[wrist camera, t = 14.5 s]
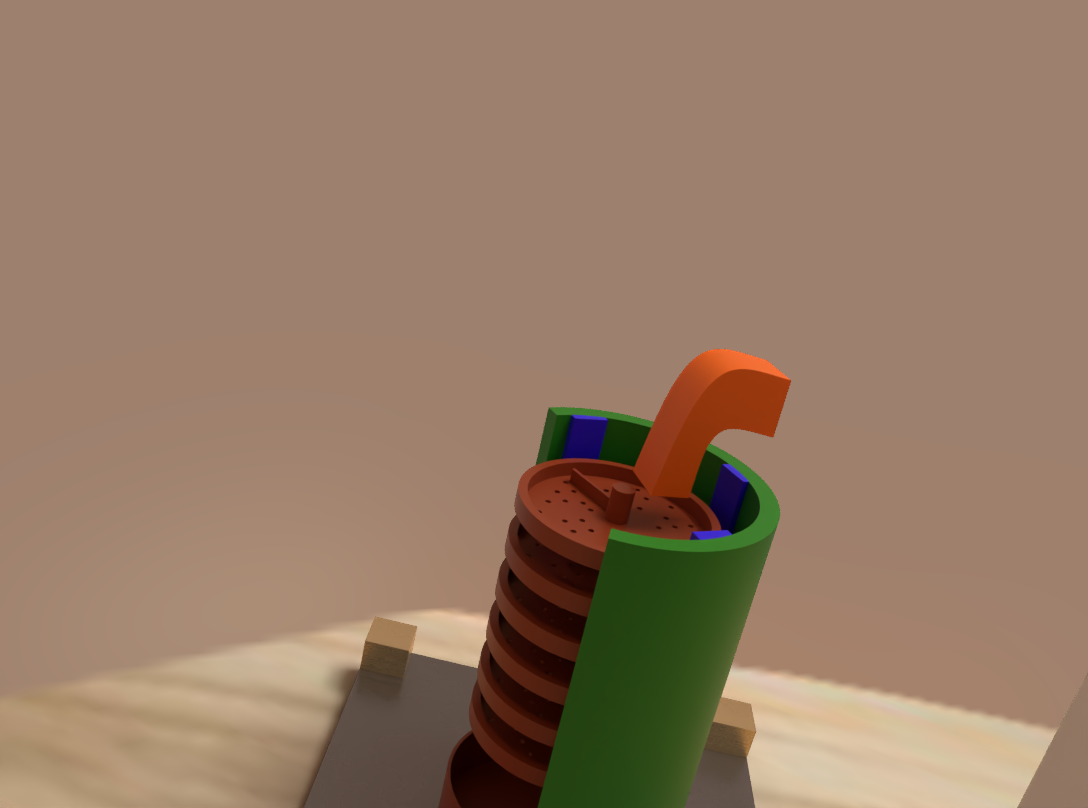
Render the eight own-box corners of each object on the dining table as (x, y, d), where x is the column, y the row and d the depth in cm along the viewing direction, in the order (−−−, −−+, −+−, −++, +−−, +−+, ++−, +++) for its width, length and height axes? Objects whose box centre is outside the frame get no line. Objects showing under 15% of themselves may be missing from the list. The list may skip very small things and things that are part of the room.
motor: (400, 752, 42) (500, 288, 35) (589, 727, 46) (712, 308, 39) (492, 964, 34) (646, 412, 27) (712, 911, 38) (895, 421, 31)
